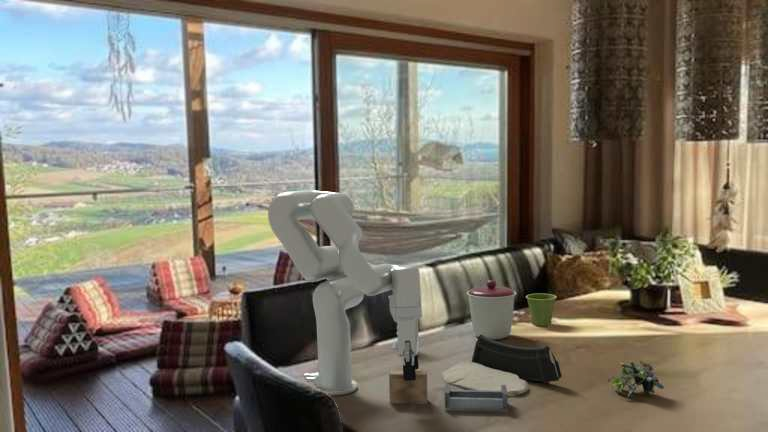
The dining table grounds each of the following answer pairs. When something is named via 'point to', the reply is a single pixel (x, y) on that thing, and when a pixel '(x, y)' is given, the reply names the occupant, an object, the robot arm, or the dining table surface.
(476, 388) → the stone tablet
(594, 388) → the dining table surface
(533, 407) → the dining table surface
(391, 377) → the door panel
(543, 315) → the plant pot
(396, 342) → the chalice
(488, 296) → the canister
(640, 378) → the green leafy plant
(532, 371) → the magazine
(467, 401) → the grey open holder
